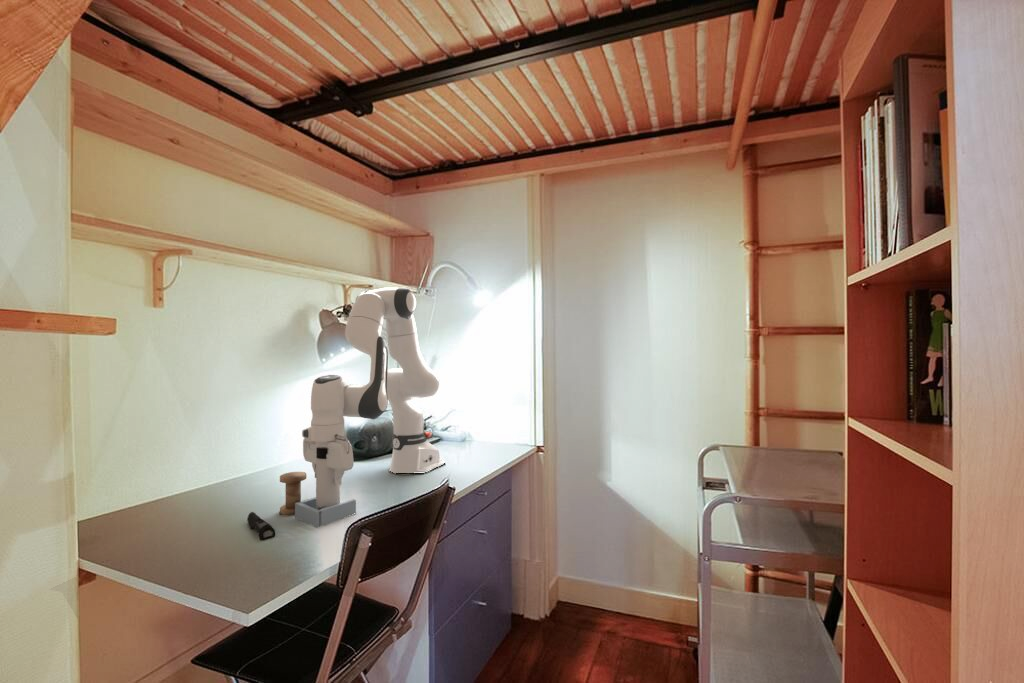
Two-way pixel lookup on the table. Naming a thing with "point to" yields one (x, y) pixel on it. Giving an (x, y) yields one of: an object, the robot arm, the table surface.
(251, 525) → the electric trimmer
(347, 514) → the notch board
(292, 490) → the bobbin
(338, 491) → the travel mug
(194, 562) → the table surface
